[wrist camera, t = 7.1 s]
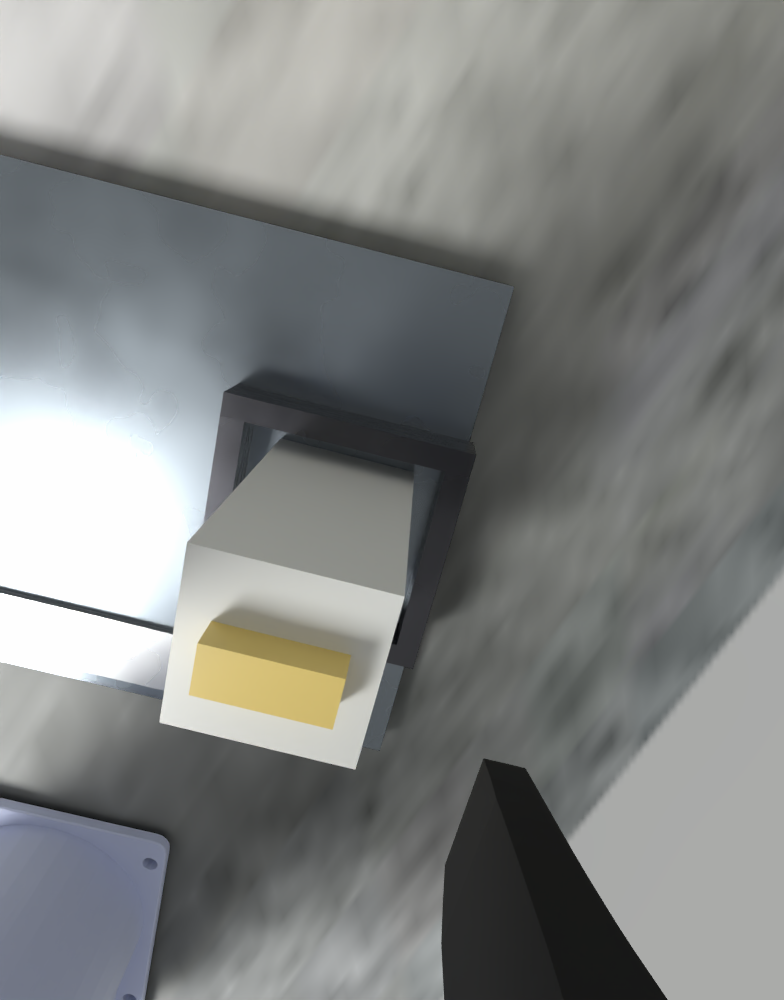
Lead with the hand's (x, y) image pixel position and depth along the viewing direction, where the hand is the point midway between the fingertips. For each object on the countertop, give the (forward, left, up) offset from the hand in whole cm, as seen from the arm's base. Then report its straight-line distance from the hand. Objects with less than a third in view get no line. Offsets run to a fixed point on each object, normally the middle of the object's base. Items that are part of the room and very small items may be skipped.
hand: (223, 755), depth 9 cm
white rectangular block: (0, 0, -9) cm, 9 cm away
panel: (0, +8, -10) cm, 13 cm away
